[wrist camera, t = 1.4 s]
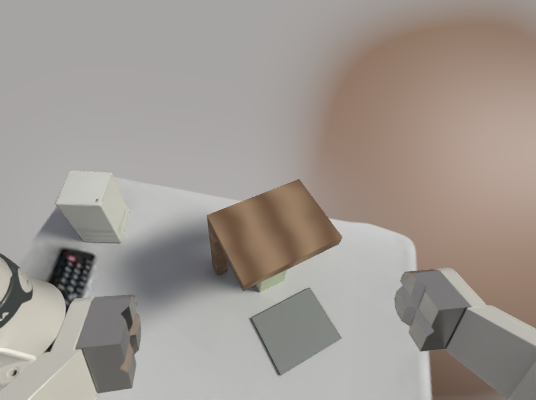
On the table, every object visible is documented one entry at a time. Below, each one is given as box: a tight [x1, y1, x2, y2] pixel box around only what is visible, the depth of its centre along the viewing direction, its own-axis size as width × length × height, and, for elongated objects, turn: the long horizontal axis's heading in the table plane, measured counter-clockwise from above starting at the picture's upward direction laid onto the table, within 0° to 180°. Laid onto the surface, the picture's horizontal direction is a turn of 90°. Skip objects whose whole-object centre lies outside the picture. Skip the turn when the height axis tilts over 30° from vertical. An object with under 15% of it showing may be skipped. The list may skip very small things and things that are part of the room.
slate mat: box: [252, 288, 341, 375], centre depth 58 cm, size 12×10×1 cm
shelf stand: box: [207, 179, 342, 291], centre depth 57 cm, size 16×12×18 cm
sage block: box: [256, 270, 287, 292], centre depth 59 cm, size 5×5×11 cm
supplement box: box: [55, 171, 130, 243], centre depth 62 cm, size 7×7×13 cm
